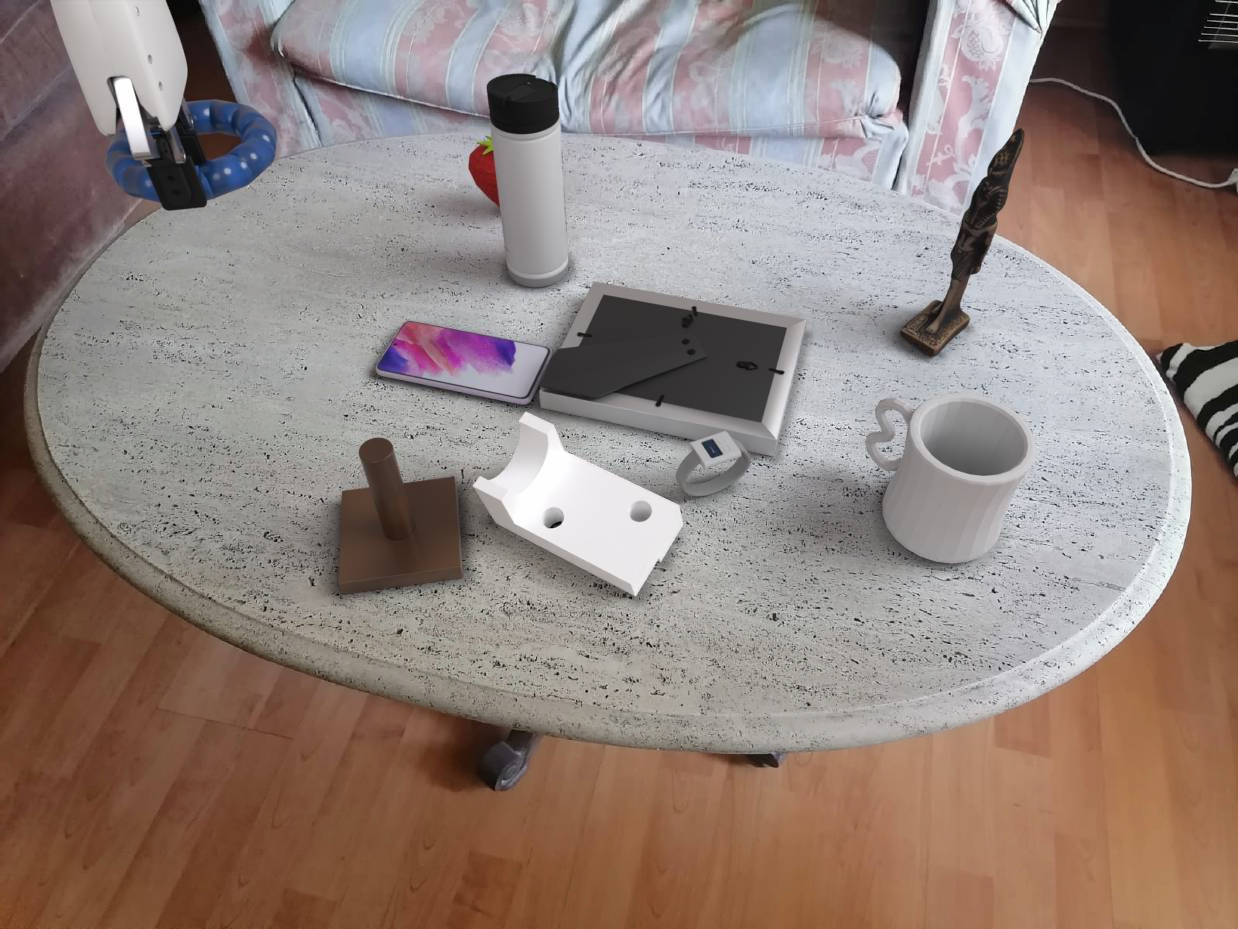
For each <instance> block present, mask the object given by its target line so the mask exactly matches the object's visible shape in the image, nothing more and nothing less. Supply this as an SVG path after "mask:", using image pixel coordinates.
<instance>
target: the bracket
mask: <svg viewBox="0 0 1238 929" xmlns="http://www.w3.org/2000/svg"><path fill="white" fill-rule="evenodd" d="M518 423H519V430H520V431H519V439H518V443H517V446H516V449H515V452H514V454H513V456H512V458H511V459H510V461H509V462H508V464H507V465H506V467H505V468H504V469H503V470H502V471H501V472H500V473H499V474H498V475H497V476H495V477H494V478H491V479H487V478H485V477H483V476H481V475H479V476H478V477H477V479H476V481H475V482H474V483H473V484H472V488H473V489H474V491H475V492H476V494H477V495H478V497H479V499H480V500H481V502H482V503H483V505H484V507H485V508H486V510H487V512H488V513H489V514H490V516H491V518H492V519H493V522H494V523H495V524H496V525H498V526H500V527H502V528H504V529H505V530H508V531H510V532H511V533H513V534H516V535H517V536H519V537H521V538H523V539H525V540H527V541H529V542H531V543H532V544H535V545H536V546H538V547H540V548H542V549H544V550H545V551H548V552H549V553H551V554H553V555H555V556H557V557H559V558H560V559H563V560H565V561H566V562H569V563H570V564H572V565H574V566H576V567H578V568H580V569H581V570H584V571H586V572H588V573H590V574H592V575H593V576H595V577H597V578H599V579H601V580H603V581H605V582H607V583H609V584H610V585H612V586H614V587H616V588H618V589H620V590H622V591H624V592H626V593H627V594H629V595H631V596H633V597H637V595H638V594H639V592H640V590H641V589H642V587H643V586H644V584H645V582H646V581H647V578H648V577H649V576H650V574H651V572H652V570H653V569H654V568H655V566H656V564H657V563H658V562H659V563H661V562H662V561H663V559H664V558H665V556H666V554H667V553H668V551H669V549H670V548H671V546H672V544H673V543H674V542H675V540H676V538H677V536H678V534H679V533H680V531H681V529H682V528H683V526H684V522H683V521H684V520H683V517H682V512H681V507H680V504H678V503H676V502H673V501H671V500H669V499H667V498H665V497H663V496H661V495H659V494H656V493H655V492H652V491H651V490H648V489H647V488H644V487H642V486H640V485H638V484H636V483H634V482H632V481H629V480H627V479H626V478H623V477H621V476H619V475H617V474H615V473H612V472H610V471H608V470H606V469H605V468H602V467H600V466H598V465H596V464H593V463H592V462H589V461H588V460H585V459H583V458H581V457H579V456H576V455H575V454H573V453H570V452H568V451H567V450H565V449H564V446H563V444H562V442H561V439H560V436H559V433H558V431H557V430H556V427H555V425H554V424H553V423H551V422H549V421H547V420H545V419H543V418H540V417H538V416H537V415H534V414H532V413H530V412H527V411H525V412H524V413H523V415H522V416H521V417H520V419H519V420H518ZM558 522H561V524H559V525H558V526H556V527H553V528H551V526H553V525H554V524H556V523H558Z"/></svg>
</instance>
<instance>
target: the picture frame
mask: <svg viewBox="0 0 1238 929" xmlns="http://www.w3.org/2000/svg"><path fill="white" fill-rule="evenodd" d="M807 322H808V319H805V318H800V317H795V316H789V315H784V314H779V313H778V314H777V313H774V312H773V313H772V312H766V311H763V310H762V311H760V310H756V309H750V308H744V307H739V306H733V305H729V304H722V303H716V302H711V301H705V300H699V299H694V298H690V297H689V298H688V297H683V296H678V295H673V294H666V293H661V292H655V291H650V290H644V289H640V288H639V289H638V288H633V287H628V286H622V285H616V284H612V283H611V284H610V283H605V282H600V281H593V282H592V284H591V286H590V288H589V290H588V292H587V294H586V297H584V300H583V302H582V304H581V306H580V308H579V310H578V312H577V314H576V316H575V319H574V320H573V322H572V324H571V327H570V329H569V330H568V332H567V335H566V336H565V338H564V340H563V343H562V344H561V347H560V348H557V349H556V351H555V353H554V354H553V356H552V358H551V360H550V362H549V365H548V367H547V369H546V371H545V373H544V375H543V377H542V379H541V381H540V383H539V386H538V388H540V389H539V391H538V394H539V403H540V409H544V410H549V411H554V412H558V413H563V414H568V415H571V416H572V415H573V416H577V417H581V418H587V419H591V420H592V419H593V420H597V421H602V422H607V423H611V424H617V425H621V426H624V427H631V428H635V429H639V430H645V431H650V432H653V433H659V434H664V435H669V436H673V437H679V438H683V439H688V440H692V441H696V440H699V439H702V438H705V437H708V436H711V435H714V434H717V433H720V432H723V431H727V433H728V434H729V435H730V437H731V438H734V439H736V440H738V441H739V442H741V443H742V445H743V446H744V447H745V449H746V450H747V452H748V453H750V452H751V453H753V454H754V453H755V454H760V455H764V456H770V457H775V453H776V451H777V445H778V441H779V439H780V438H779V437H780V434H781V430H782V426H783V422H784V418H785V414H786V409H787V406H788V402H789V398H790V394H791V390H792V387H793V382H794V378H795V375H796V374H795V373H796V369H797V366H798V362H799V358H800V354H801V350H802V346H803V342H804V338H805V334H806V328H807Z"/></svg>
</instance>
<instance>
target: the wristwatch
mask: <svg viewBox="0 0 1238 929" xmlns="http://www.w3.org/2000/svg"><path fill="white" fill-rule="evenodd" d="M688 446H689V449H690V451H691V452H689V453H688V454H687V455H686V456H685V457H684V458H683V460H682V461H681V462H680V464H679V465H678V468H677V469H676V472H675V480H676V482H677V485H679V487H680V489H681V490H682V492H684V493H685V494H687V495H689V496H693V497H705V496H710V495H713V494H717V493H719V492H721V491H723V490H724V489H726V488H728V487H730V486H731V485H733V484H735V483H736V482H737V481H738V480H740V479H741V478H742V477H743V476H744V475H746V473H747V471H748V470H749V468H750V466H751V463H752V458H751V454H750V452H749V451H747V450H746V449H745V447H744V446H743V445H742V443H741V442H739V441H738V440H736V439H734V438H731V437H730V435H729V434H728V433H727V431H723V432H720V433H717V434H714V435H711V436H708V437H705V438H702V439H699V440H692V441H690V442H689V445H688ZM736 459H737V460H736ZM733 460H736V462H735V463H734V464H733V465H732V466H730V468H729V469H727V470H726V471H724V472H722V473H721V474H720V475H719V474H718V475H717V476H716V477H714V478H711V479H709V480H707V481H703V482H698V483H689V482H687V480H688V478H689V476H690V475H691V473H692V472H693V471H694V470H695V469H696V468H697V467H698V465H701V467H702V469H703V470H708V469H710V468H713V467H716V466H719V465H722V464H725V463H727V462H730V461H733Z"/></svg>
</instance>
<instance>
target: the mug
mask: <svg viewBox="0 0 1238 929" xmlns="http://www.w3.org/2000/svg"><path fill="white" fill-rule="evenodd" d="M889 410H894V411H896V412H898V413H900V415H901V416H902V418H903V420H904V423H905V424H906V425H907V429H906V435H905V443H904V449H903V453H902V455H901V457H898V458H896V459H888V458H887V457H886V456H885V455H884V454H883V453H882V450H880V447H879V446H878V444H879V443H889V442H892V440H894V439H895V436H896V432H897V431H896V429H895V427H894V424H893V422H892V421H891V418H890V416H889V413H888V411H889ZM874 414H875V415H874V416H875V419H876V420H877V423H878V426H879V427H880V429H881V431H872V432H869V433H868V434H867V436H866V439H865V441H864V445H865V448H866V451H867V454H868V455H869V457H870V458H871V460H872V461H873V462H874V463H875V464H876V466H878V467H879V468H880V469H882V470H884V471H885V472H894V474H893V476H892V478H891V479H890V481H889V483H888V485H887V487H886V490H885V492H884V495H883V498H882V517H883V520H884V523H885V525H886V528H887V530H888V532H890V534H891V535H892V537H893V538H894V540H896V541H897V542H898V543H899V544H900V545H901V546H903V547H904V548H905V549H906V550H908V551H909V552H912V553H913V554H915V555H917V556H919V557H921V558H924V559H927V560H930V561H933V562H936V563H946V564H960V563H961V564H962V563H968V562H971V561H974V560H977V559H979V558H981V557H982V556H984V555H986V554H987V553H988V552H990V551H991V550H992V548H993V547H994V545H996V543H997V541H998V540H999V538H1000V536H1001V533H1002V530H1003V526H1004V522H1005V519H1006V518H1005V517H1006V515H1007V511H1008V509H1009V506H1010V504H1011V502H1012V500H1013V497H1014V495H1015V492H1016V490H1017V488H1018V487H1019V485H1020V484H1021V482H1022V480H1023V479H1024V478H1025V476H1026V475H1027V474H1028V472H1029V470H1030V469H1031V468H1032V466H1033V465H1034V463H1035V460H1036V455H1037V451H1038V448H1037V443H1036V442H1037V441H1036V437H1035V435H1034V433H1033V432H1032V430H1031V428H1030V425H1029V424H1028V423H1027V422H1026V421H1025V420H1024V419H1023V418H1022V417H1021V416H1020V414H1019V413H1017V412H1016V411H1014V410H1013V409H1012V408H1010V407H1009V406H1007V405H1006V404H1003V403H1001V402H999V401H997V400H995V399H993V398H991V397H987V396H983V395H979V394H975V393H968V392H967V393H966V392H951V393H943V394H940V395H937V396H933V397H930V398H929V399H927V400H925V401H924V402H922V403H920V404H919V405H918V406H917V407H916V409H915V410H914V408H913V407H912V406H911V405H910V404H909V402H907V401H905V400H902V399H901V398H896V397H895V398H893V397H886V398H884V399H881V400H879V401H878V403H877V405H876V407H875V408H874Z"/></svg>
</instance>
